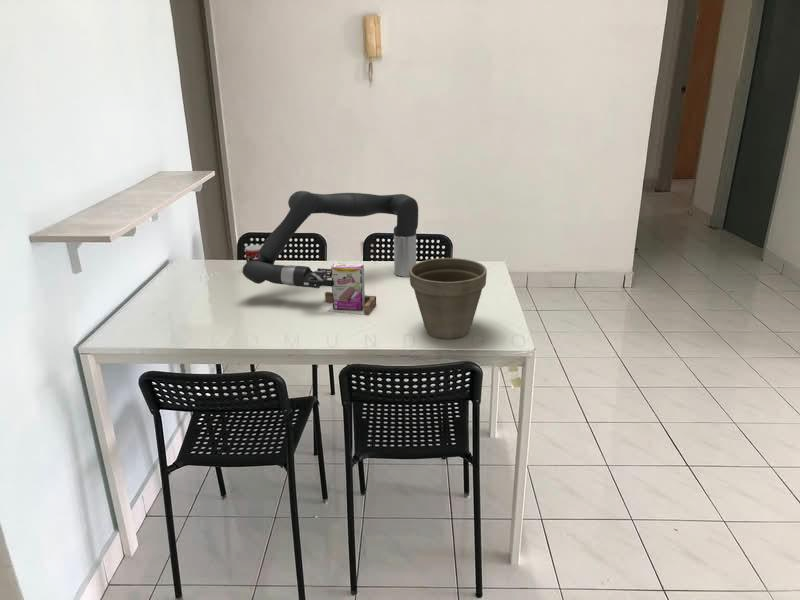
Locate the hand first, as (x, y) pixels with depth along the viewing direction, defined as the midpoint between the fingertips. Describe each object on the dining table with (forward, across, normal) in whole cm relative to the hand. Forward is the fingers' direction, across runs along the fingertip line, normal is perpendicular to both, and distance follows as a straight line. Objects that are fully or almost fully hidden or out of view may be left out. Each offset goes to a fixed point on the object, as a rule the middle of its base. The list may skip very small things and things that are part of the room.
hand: (337, 279), depth 216 cm
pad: (+4, 0, +11) cm, 12 cm away
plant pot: (+42, -10, +11) cm, 44 cm away
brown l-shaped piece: (+3, +1, +11) cm, 11 cm away
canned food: (-49, +30, +12) cm, 59 cm away
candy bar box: (+4, 0, +11) cm, 12 cm away
